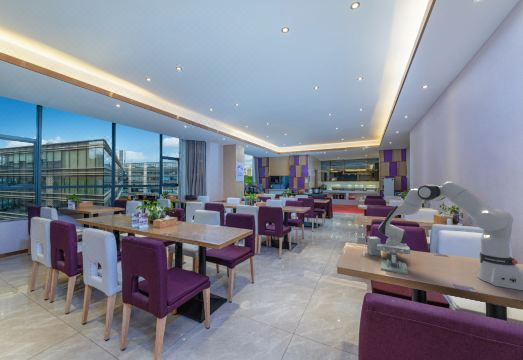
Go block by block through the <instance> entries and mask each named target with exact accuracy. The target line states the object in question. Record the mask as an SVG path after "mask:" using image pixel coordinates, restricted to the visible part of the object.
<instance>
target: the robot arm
mask: <svg viewBox="0 0 523 360" xmlns="http://www.w3.org/2000/svg"><path fill="white" fill-rule="evenodd" d="M444 199H447V200H449V201H450V203H452V204H454V205H455V206H456V207H458V208H459V209H461V210H462V212H464V213H465V214H466V215H467V216H468V217H470V219H471V220H472V221H473V222H474V223H475V225H476V226H477V227H478V228H479V229H481V230H482V235H481V237H480V252H479V263H480V267H479V272H478V275H477V277H478V279H479V280H481V281H484V282H487V283H489V284H491V285H493V286H496V287H501V288H507V289H513V290H519V291H523V269H522V268H520V266H517V265H518V261H517V260H516V259H515V258H514V257H511V252H510V251H511V249H510V248H511V247H510V243H511V242H510V241H511V235H512V229H513V228H512V227H513V221H514V217H513V216H512V214H511V213H510V212H508V211H506V210H503V209H499V208H495V209H494V208H493V207H491V206H490V205H489V204H487V203H486V202H485V201H484V199H483V198H482V197H480V196H478V195H477V194H475V193H474V192H472V191H471V190H469V189H468V188H466V187H465V186H463V185H461V184H459V183H457V182H455V181H451V180H450V181H446V182H444V183H442V184H441V185H439V184H432V183H430V184H427V183H426V184H423V185H420V186H419V187H418V188H411V189H409V191H408V192H407V194H406V196H405V198H404V199H403V201H402V202H401V203H400V204H396V205H395V206H394V207H393V208H392V209H391V210H390V212H389V213H388V214H387V216H386V217H385V219H384V220H383V221H382V222H381V223H380V224H379V226H378V228H377V229H378V233H380V234H381V235H383V236H386V237H388V238H387V239H386V241H385V243H379V244H377V250H380V251H381V252H389V254H391V250H396V252H397V254H401V255H403V254H405V255H411V248H410V246H408V244H407V243H404V242H405V240H406V238H407V232H406V230H405V229H403V228H401V227H399V226H396V225H393V224H391V222H392V221H393V219H394V218H395V217H396V216H398V215H399V216H400V215H401V216H402V215H404V216H413V215H415V214H417V213H419V212H420V210H421V207H422V206H423V203H424V202H425V201H427V202H428V201H431V202H435V201H442V200H444Z"/></svg>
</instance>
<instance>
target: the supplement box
mask: <svg viewBox="0 0 523 360" xmlns="http://www.w3.org/2000/svg"><path fill="white" fill-rule="evenodd" d="M366 242H367V243H366V246H367V247H366V248H367V250H366V251H367V254H369V255H370V256H381V255H382V251H380V250H377V244H379V243H381V238H380V237H378V236H366ZM381 244H382V243H381Z"/></svg>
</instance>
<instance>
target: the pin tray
mask: <svg viewBox="0 0 523 360" xmlns="http://www.w3.org/2000/svg"><path fill="white" fill-rule="evenodd" d="M380 270H381V271H386V272H391V273H399V274H404V275H408V274H409V273H408V272H409V271H408V268H407V264H406V262H401V261H399V260H397V267H391V260H389V259H386V260H385V259H381V264H380Z"/></svg>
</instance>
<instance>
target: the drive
mask: <svg viewBox="0 0 523 360" xmlns="http://www.w3.org/2000/svg"><path fill="white" fill-rule="evenodd" d="M397 255H398V253H397V252H396V250H391V253H390V261H391V267H397V262H398V258H397V257H398V256H397Z"/></svg>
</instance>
